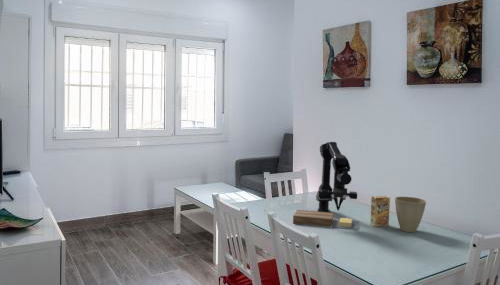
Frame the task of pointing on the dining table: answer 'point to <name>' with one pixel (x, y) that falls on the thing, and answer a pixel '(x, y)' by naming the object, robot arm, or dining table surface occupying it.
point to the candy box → (380, 211)
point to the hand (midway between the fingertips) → (338, 210)
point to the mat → (353, 226)
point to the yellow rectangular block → (345, 222)
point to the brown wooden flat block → (313, 218)
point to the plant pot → (409, 212)
